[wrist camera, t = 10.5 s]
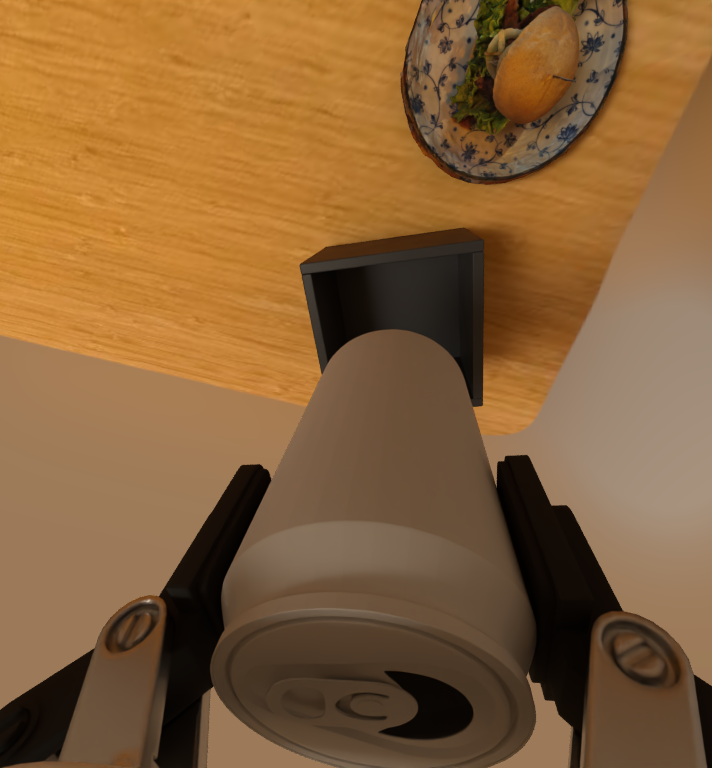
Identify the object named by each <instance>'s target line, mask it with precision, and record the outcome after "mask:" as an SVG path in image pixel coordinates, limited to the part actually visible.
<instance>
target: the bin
mask: <svg viewBox="0 0 712 768" xmlns="http://www.w3.org/2000/svg"><path fill="white" fill-rule="evenodd" d="M300 270H301V274H302V280H303V285H304V290H305V295H306V299H307V304H308V309H309V314H310V319H311V324H312V329H313V334H314V339H315V344H316V348H317V353H318V358H319V363H320V368H321V373H322V374H323V372H324V370H325V368H326V366H327V364H328V362H329V361H330V359H331V358H332V357H333V355H334V354H335V353H336V352H337V351H338V350H339V349H340V348H341V347H342V346H344V345H345V344H346V343H348V342H349V341H351V340H353V339H354V338H356V337H358V336H361V335H363V334H366V333H369V332H373V331H379V330H389V329H397V330H405V331H411V332H414V333H417V334H420V335H423V336H425V337H427V338H429V339H431V340H433V341H435V342H436V343H438V344H439V345H440V346H442V347H443V348H444V349H445V350H446V351H447V352H448V353H449V354H450V355H451V356H452V357H453V358H454V360H455V361H456V363H457V364H458V366H459V368H460V369H461V372H462V374H463V377H464V379H465V383H466V386H467V390H468V393H469V396H470V400H471V403H472V406H473V407H477V406H483V318H484V240H483V239H482V238H480V237H479V236H477V235H475V234H474V233H472V232H470V231H469V230H467V229H466V228H458V229H451V230H444V231H437V232H430V233H423V234H416V235H409V236H401V237H394V238H387V239H380V240H373V241H366V242H359V243H352V244H345V245H338V246H331V247H325V248H324V249H322V250H321V251H319V252H318V253H316V254H315V255H313V256H312V257H310V258H309V259H307V260H306V261H304V262H303V263H301V264H300Z"/></svg>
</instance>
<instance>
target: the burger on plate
mask: <svg viewBox="0 0 712 768" xmlns="http://www.w3.org/2000/svg"><path fill="white" fill-rule="evenodd" d="M627 32H628V10H627V0H422V2H421V5H420V8H419V11H418V14H417V16H416V19H415V22H414V25H413V28H412V31H411V34H410V37H409V39H408V42H407V45H406V56H405V62H404V68H403V71H402V72H401V93H402V98H403V103H404V108H405V113H406V116H407V120H408V124H409V128H410V131H411V133H412V136H413V138H414V139H415V141H416V143H417V144H418V146H419V147H420V149H421V151H422V152H423V154H424V155H425V156H428V157H429V158H431V159H432V160H433V161H434V162H435V164H436V165H437V166H438V167H439V168H440V169H442V170H443V171H444V172H446V173H447V174H448V175H450V176H451V177H454V178H457V179H460V180H463V181H466V182H468V183H478V184H486V185H487V184H497V183H506V182H509V181H512V180H515V179H518V178H522V177H524V176H526V175H528V174H530V173H533V172H535V171H538V170H540V169H541V168H543V167H545V166H546V165H548V164H549V163H551V162H552V161H554V160H556V159H557V158H558V157H560V156H562V155H564V154H565V153H567V150H568V149H569V147H570V146H571V145H572V144H574V143H575V142H576V141H577V140H578V139H579V138H580V137H581V136H582V135H583V134H584V133H585V131H586V130H587V129H588V127H589V126H590V124H591V123H592V121H593V120H594V119H595V117H596V116H597V114H598V112H599V111H600V109H601V108H602V107H603V105H604V103H605V101H606V99H607V97H608V94H609V92H610V90H611V89H612V87H613V84H614V82H615V79H616V77H617V74H618V70H619V67H620V64H621V61H622V57H623V54H624V50H625V45H626V40H627Z"/></svg>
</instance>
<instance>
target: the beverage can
mask: <svg viewBox="0 0 712 768" xmlns="http://www.w3.org/2000/svg"><path fill="white" fill-rule="evenodd" d="M221 604H222V614H223V622H224V628H225V630H224V632H223V633H222V635H221V637H220V639H219V641H218V643H217V646H216V648H215V650H214V653H213V655H212V659H211V664H210V674H211V680H212V683H213V686H214V688H215V690H216V692H217V694H218V696H219V698H220V699H221V700H222V702H223V703H224V704H225V706H226V707H227V708H228V709H229V710H230V711H231V712H232V713H233V714H234V715H235V716H236V717H237V718H238V719H239V720H240V721H242V722H243V723H244V724H245V725H247V726H248V727H249V728H250V729H252V730H253V731H255V732H256V733H258V734H259V735H261V736H263V737H264V738H266V739H267V740H269V741H271V742H273V743H275V744H277V745H279V746H281V747H283V748H285V749H287V750H289V751H291V752H294V753H296V754H299V755H301V756H304V757H306V758H309V759H312V760H315V761H318V762H321V763H324V764H327V765H331V766H334V767H338V768H488V767H490V766H493V765H495V764H498V763H500V762H502V761H505V760H506V759H508V758H510V757H511V756H513V755H514V754H515V753H517V752H518V751H519V750H520V749H522V748H523V746H524V745H525V744H526V743H527V742H528V740H529V739H530V737H531V735H532V733H533V730H534V727H535V723H536V711H535V705H534V701H533V697H532V693H531V688H530V685H529V683H528V680H527V678H526V676H527V674H528V671H529V669H530V666H531V663H532V659H533V656H534V652H535V649H536V643H537V625H536V620H535V616H534V613H533V610H532V606H531V603H530V599H529V596H528V593H527V589H526V586H525V582H524V579H523V576H522V572H521V569H520V566H519V562H518V559H517V555H516V552H515V549H514V545H513V542H512V538H511V535H510V532H509V528H508V525H507V522H506V518H505V515H504V511H503V508H502V505H501V501H500V498H499V494H498V491H497V488H496V484H495V481H494V478H493V475H492V471H491V468H490V464H489V461H488V457H487V454H486V451H485V447H484V444H483V440H482V437H481V434H480V430H479V427H478V423H477V420H476V417H475V413H474V410H473V406H472V403H471V400H470V396H469V393H468V390H467V386H466V383H465V379H464V377H463V374H462V372H461V369H460V368H459V366H458V364H457V363H456V361H455V360H454V358H453V357H452V356H451V355H450V354H449V353H448V352H447V351H446V350H445V349H444V348H443V347H442V346H440V345H439V344H438V343H436V342H435V341H433V340H431V339H429V338H427V337H425V336H423V335H420V334H417V333H414V332H411V331H405V330H397V329H389V330H379V331H373V332H369V333H366V334H363V335H361V336H358V337H356V338H354V339H353V340H351V341H349V342H348V343H346V344H345V345H344V346H342V347H341V348H340V349H339V350H338V351H337V352H336V353H335V354H334V355H333V357H332V358H331V359H330V361H329V362H328V364H327V366H326V368H325V370H324V372H323V374H322V376H321V378H320V380H319V382H318V384H317V387H316V389H315V391H314V393H313V395H312V397H311V399H310V401H309V403H308V405H307V407H306V409H305V412H304V414H303V416H302V418H301V420H300V422H299V424H298V426H297V428H296V430H295V432H294V435H293V437H292V439H291V441H290V443H289V445H288V447H287V449H286V451H285V453H284V456H283V458H282V460H281V462H280V464H279V466H278V468H277V470H276V472H275V474H274V476H273V478H272V480H271V482H270V485H269V487H268V489H267V491H266V493H265V495H264V497H263V499H262V501H261V503H260V505H259V508H258V510H257V512H256V514H255V516H254V518H253V520H252V522H251V524H250V526H249V528H248V530H247V533H246V535H245V537H244V539H243V541H242V543H241V545H240V547H239V549H238V551H237V553H236V556H235V558H234V560H233V562H232V564H231V566H230V568H229V570H228V572H227V574H226V577H225V579H224V582H223V587H222V592H221Z"/></svg>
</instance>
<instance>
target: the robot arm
mask: <svg viewBox="0 0 712 768" xmlns="http://www.w3.org/2000/svg"><path fill="white" fill-rule="evenodd" d="M270 482H271V477H270V474H269V471H268V470H267V469H264V468H263V467H262V466H261V465H260V464H257V465H242V466H240V468H239V469H238V471H237V472H236V474H235V475H234V477H233V479H232V480H231V482H230V484H229V485H228V487H227V489H226V490H225V492H224V493H223V495H222V497H221V498H220V500H219V501H218V503H217V505H216V506H215V508H214V510H213V511H212V513H211V514H210V515H209V516H208V518H207V520H206V521H205V523H204V524H203V526H202V528H201V529H200V531H199V533H198V534H197V536H196V538H195V539H194V541H193V542H192V544H191V545H190V547H189V549H188V550H187V552H186V554H185V555H184V557H183V558H182V560H181V562H180V563H179V565H178V566H177V568H176V570H175V572H174V573H173V575H172V576H171V578H170V579H169V581H168V583H167V584H166V586H165V588H164V589H163V591H162V593H161V594H160V596H159V597H158V596H152V595H148V596H144V597H140V598H138V599H135V600H133V601H131V602H129V603H128V604H126V605H125V606H123V607H122V608H121V609H119V610H118V611H117V612H116V613H115V614H114V615H113V616H112V617H111V618H110V619H109V620H108V622H107V623H106V625H105V626H104V627H103V629H102V631H101V633H100V635H99V637H98V640H97V643H96V646H95V648H94V649H93V650H91V651H90V652H88V653H86V654H85V655H83V656H82V657H80V658H79V659H77V660H75V661H74V662H72V663H71V664H69V665H68V666H66V667H64V668H63V669H62V670H60V671H58V672H57V673H55V674H54V675H52V676H50V677H49V678H47V679H46V680H44V681H43V682H41V683H40V684H38V685H36V686H35V687H33V688H32V689H30V690H29V691H27V692H26V693H24V694H22V695H21V696H19V697H18V698H16V699H15V700H13V701H11V702H10V703H9V704H7V705H6V706H5V707H3V708H2V709H1V710H0V768H207V752H208V731H209V711H210V709H209V708H210V690H211V688H212V687H213V683H212V680H211V674H210V664H211V659H212V655H213V653H214V650H215V648H216V646H217V643H218V641H219V639H220V637H221V635H222V633H223V632H224V630H225V628H224V622H223V614H222V604H221V592H222V587H223V582H224V579H225V577H226V574H227V572H228V570H229V568H230V566H231V564H232V562H233V560H234V558H235V556H236V553H237V551H238V549H239V547H240V545H241V543H242V541H243V539H244V537H245V535H246V533H247V530H248V528H249V526H250V524H251V522H252V520H253V518H254V516H255V514H256V512H257V510H258V508H259V505H260V503H261V501H262V499H263V497H264V495H265V493H266V491H267V489H268V487H269V485H270ZM497 491H498V494H499V498H500V501H501V505H502V508H503V511H504V515H505V518H506V522H507V525H508V528H509V532H510V535H511V538H512V542H513V545H514V549H515V552H516V555H517V559H518V562H519V566H520V569H521V572H522V576H523V579H524V582H525V586H526V589H527V593H528V596H529V599H530V603H531V606H532V610H533V613H534V616H535V620H536V625H537V643H536V649H535V652H534V656H533V659H532V663H531V666H530V669H529V675H530V678H531V680H532V682H533V683H540V684H541V687H542V691H543V695H544V699H545V700H549V701H555V704H556V707H557V711H558V714H559V715H560V716H561V717H562V718H563V719H564V720H565V721H566V722H567V723H569V724H570V725H571V736H570V749H569V760H568V768H712V686H711V685H709V684H708V683H706V682H705V681H703V680H701V679H700V678H699V677H697V676H696V675H694V674H693V671H692V668H691V665H690V662H689V659H688V658H687V656H686V654H685V653H684V651H683V649H682V648H681V646H680V645H679V644H678V643H677V642H676V641H675V640H674V639H673V638H672V637H671V636H670V635H669V634H668V633H667V632H666V631H665V630H663V629H662V628H660V627H659V626H658V625H656V624H655V623H654V622H652V621H650V620H648V619H646V618H644V617H641V616H639V615H637V614H633V613H628V612H624V611H623V610H622V608H621V606H620V604H619V602H618V600H617V598H616V597H615V595H614V593H613V591H612V589H611V587H610V585H609V583H608V581H607V579H606V577H605V575H604V573H603V571H602V569H601V567H600V565H599V564H598V561H597V560H596V557H595V556H594V554H593V552H592V550H591V548H590V546H589V544H588V542H587V540H586V538H585V536H584V534H583V532H582V530H581V528H580V526H579V524H578V523H577V521H576V518H575V516H574V514H573V513H572V511H571V510H570V508H569V507H568V506H566V505H559V506H551V504H550V502H549V500H548V497H547V495H546V493H545V491H544V489H543V486H542V484H541V482H540V480H539V478H538V475H537V473H536V471H535V469H534V467H533V464H532V462H531V460H530V458H529V456H527V455H520V456H519V455H517V456H505V460H504V461H501V462H500V461H499V462H498V463H497Z"/></svg>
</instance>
